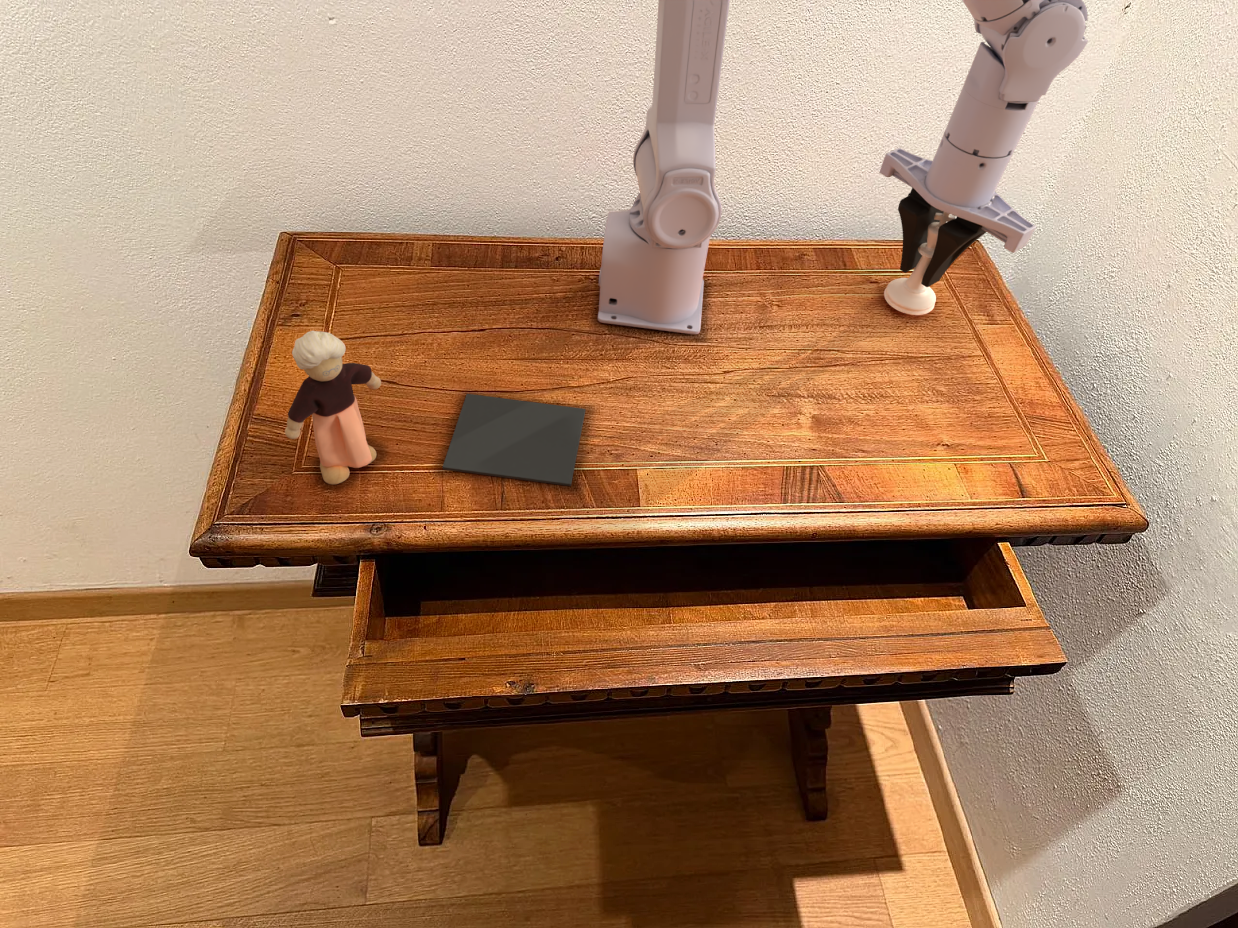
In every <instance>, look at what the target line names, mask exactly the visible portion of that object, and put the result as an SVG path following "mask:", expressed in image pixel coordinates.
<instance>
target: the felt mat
mask: <svg viewBox="0 0 1238 928" xmlns="http://www.w3.org/2000/svg"><path fill="white" fill-rule="evenodd" d="M585 414H586V408H582V407H576V406H575V407H574V406H566V405H560V404H551V403H543V402H535V401H528V400H522V399H521V400H520V399H513V398H505V397H497V396H488V395H482V394H474V393H466V395H465V398H464V400H463V404H462V407H461V410H460V412H459V416H458V419H457V422H456V425H455V428H454V431H453V433H452V437H451V439H450V443H449V446H448V449H447V452H446V455H445V457H444V461H443V465H442V470H444V471H451V472H452V471H453V472H460V473H465V474H467V473H469V474H473V475H474V474H475V475H481V476H489V477H490V476H491V477H497V478H504V479H512V480H513V479H514V480H521V481H529V482H536V483H543V484H551V485H557V486H565V487H566V486H567V487H571V486H572V482H573V477H574V472H575V468H576V467H575V466H576V461H577V457H578V452H579V446H580V441H581V435H582V430H583V425H584V420H585V416H586V415H585Z"/></svg>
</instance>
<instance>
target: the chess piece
mask: <svg viewBox="0 0 1238 928" xmlns="http://www.w3.org/2000/svg"><path fill="white" fill-rule="evenodd" d="M934 219H935V220H940V222H933V223H931V224H930V225H929V226H928V237H927V243H923V244H921V245H920V246H919V248H918V251H919V253H920V254H921V255H922V257H921V258H920V260H919V262H918V264H917V265H916V267H915V268H913V269H912V272H911V274H910V276H909V277H899V278H896V279H893V280H891V281H890V282H889V283H888V284H887V285H886V287H885V289H884V291H883V297H884V299H885V301H886V303H887V304H888V305H889V306H890V307H891V308H893V309H895V310H896V311H898V312H900V313H903V314H905V315H911V316H922V315H926V314H929V313H930V312H932V311H933V309H934V308H935V306H936V305H935V304H936V301H937V296H936V292H935V291H934V290H933V288H931V286H929V287H925V286H924V285H922V284H921V282H922V279H923V276H924V273H925V271H926V269H927V267H928V265H929V263H930V261H931V259H932V256H933V253H934V250H935V246H936V242H937V237H938V229H939V227H940V226H941V225H943V224H945V223H947V222H948V221H950V220H952V219H956V216H954V215H952V214H949V213H946V212H944V213H943V214H942V213H936V214H935V216H934Z"/></svg>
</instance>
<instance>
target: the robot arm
mask: <svg viewBox="0 0 1238 928" xmlns="http://www.w3.org/2000/svg"><path fill="white" fill-rule="evenodd" d="M961 1H962V2H963V4H964V6H965V7H966V8H967V11H968V12H969V13H970V15H971V17H972V18H973V23H974V24H973V25H974V30H975V32H976V33H977V34H980V35H981V37H982V38H983V40H984V41H985V42H986V43H987V44H986V43H985V42H984V41H981V42H980V43H979V46H978V48H977V51H976V53H975V56H974V58H973V60H972V63H971V65H970V68H969V71H968V73H967V74H966V78H965V80H964V83H963V85H962V88H961V90H960V92H959V95H958V97H957V100H956V103H955V104H954V108H953V110H952V113H951V115H950V118H949V120H948V122H947V125H946V127H945V130H944V131H943V134H942V136H941V139H940V142H939V144H938V147H937V149H936V152H935V154H934V156H933V159H932V160H931V159H927V158H924V157H922V156H919V155H917V154H914V153H911V152H909V151H908V150H905V149H903V148H902V147H898V148H895V149H893V150H891V151H888V152H887V153H885V155H884V158H883V161H882V164H881V166H880V169H879V174H881V175H882V176H884V177H886V178H891V177H894V178H896V180H899V181H901V182H902V183H904V184H905V185H907V186H909V187H911V189H910V192H909V193H908V194H907V196H905V197H904V198H901V200H900V201H899V203H898V207H897V211H898V214H899V216H900V223H901V229H902V248H901V259H900V267H899V270H900V271H901V272H903V273H904V274H906V273H908V272H910V271H913V270H914V269H915V267H916V265H917V264H918V262H919V260H920V258H921V257H922V255H921V254H920V253H919V251H918V248H919V246H920V245H921V244H923V243H927V237H928V226H929V225H930V224H931V223H933V222H940V220H935V219H934V216H935V214H936V213H942V214H943V213H944V212H946V213H949V215H954V216H955V219H952V220H950V221H948V222H947V221H946V223H945V224H943V225H941V226H940V227H939V229H938V237H937V242H936V246H935V250H934V253H933V256H932V259H931V261H930V263H929V265H928V267H927V269H926V271H925V273H924V276H923V279H922V282H921V284H922V285H924V286H925V287H931V286H933V285H934V284H936V283H938V282H939V281H941V279H942V278H943V276H944V275H945V273H946V272H947V271H948V270H949V268H950V267H951V266H952V265H953V264H954V262H955V261H956V260H957V259H958V258H959V257H960V256H961V255H962V254H963V253H964V252H965V251H966V250H967V249H968V248H969V247H970V246H972V245H973V244H974V243H975V242H976V241H978V240H979V239H980V238H981V237H983V236H984V235H985V234H986V233H988V234H989V235H990V236H993V238H996V239H998V240H999V241H1001V242H1002V243H1004V244H1003V248H1004V249H1006V250H1007V251H1009V252H1011V253H1012V254H1014V253H1016V252H1019V251H1020V250H1021V249H1023V248H1025V247H1026V246H1027V245H1028V243H1029V241H1030V240H1031V238H1032V236H1033V234H1034V233H1035V231H1036V229H1037V225H1035V224H1034V223H1032V222H1031V221H1029V220H1028V219H1026V217H1024V216H1022V215H1021V214H1020V213H1019V212H1018V211H1017V210H1016V209H1015V208H1014V207H1013V206H1011V205H1010V204H1009V203H1008V202H1007V201H1006V200H1005V199H1004V198H1003V197H1001V195H999V193H997V192H996V190H997V188H998V186H999V184H1000V183H1001V182H1000V181H1001V180H1002V177H1003V175H1004V173H1005V172H1006V169H1007V167H1008V165H1009V163H1010V161H1011V159H1012V157H1013V155H1014V152H1015V151H1016V149H1017V147H1018V146H1019V145H1018V144H1019V143H1020V141H1021V139H1022V137H1023V134H1024V132H1025V131H1026V128H1027V126H1028V124H1029V122H1030V121H1031V118H1032V116H1033V114H1034V112H1035V109H1036V107H1037V105H1038V104H1039V101H1040V99H1041V97H1042V96H1046V95H1047V92H1048V91H1049V89H1050V87H1051V85H1052V83H1053V81H1054V80H1055V78H1056V77H1057V76H1058V75H1059V74H1060V73H1061V72H1063V71H1064V70H1065V69H1067V68H1068V67H1069V66H1070V65H1072V63H1074V62H1075V60H1077V58H1078V57H1079V56H1080V55H1081V53H1082V52H1083V51H1084V49H1085V48H1086V47H1087V44H1088V43H1089V40H1088V39H1087V38H1086V36H1085V33H1086V30H1087V25H1086V22H1087V21H1088V19H1089V14H1088V8H1087V6H1086V3H1085V2H1084V0H961ZM730 2H731V0H658V4H657V18H656V19H657V22H656V36H655V37H656V39H655V52H654V54H655V55H654V68H653V69H654V70H653V71H654V73H653V86H652V102H651V106H650V107H649V108H648V109H647V110H646V120H645V126H644V130H643V133H642V135H641V137H640V138H639V140H638V142H637V143H636V146H635V148H634V150H633V155H632V163H633V164H632V165H633V170H634V173H635V176H636V179H637V184H638V189H639V193H638V194H637V195H636V198H635V200H634V201H633V203H632V206H631V207H630V208H629V209H625V210H624V209H623V210H610V211H608V213H607V216H606V217H607V218H606V222H605V229H604V233H603V234H604V235H603V242H602V253H601V266H600V269H599V275H598V287H599V298H598V300H599V302H598V313H597V321H598V322H599V323H602V324H608V325H609V324H611V325H617V326H625V327H633V328H642V329H648V330H658V331H666V332H671V333H681V334H688V335H699V334H700V332H701V326H702V312H703V298H704V288H705V287H704V286H705V280H704V273H705V269H706V263H707V258H708V251H709V245H710V241H711V236H712V235H713V234H714V233H715V231H716V230H717V228H718V227H719V225H720V222H721V219H722V213H723V206H722V202H721V198H720V196H719V193H718V190H717V189H716V184H715V183H716V182H715V177H716V169H717V159H716V141H715V140H716V138H715V121H716V112H717V104H718V96H719V91H720V82H721V74H722V66H723V57H724V52H725V51H724V49H725V42H726V34H727V27H728V26H727V25H728V17H729V11H730V10H729V9H730Z"/></svg>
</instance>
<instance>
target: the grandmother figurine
mask: <svg viewBox="0 0 1238 928" xmlns="http://www.w3.org/2000/svg"><path fill="white" fill-rule="evenodd" d="M346 350H347V349H346V345H345V343H344V342H343V341H342V340H341V339H340V338H338V337H337V336H335V335H334V334H332V333H331V332H326V331H320V330H319V331H318V330H310V331H307V332H306V333H304V334H303V335H302V336H301V337H299V338H297V339H295V341H294V345H293V349H292V351H291V355H292V359H294V362H295V363H296V365H297V368H298V369H300V370H303V371H304V372H305V374H306V375H307V377H306V378H305V379H304V380H303V381H302V383H301V385H300V387H299V388H298V390H297V393H296V395H295V396H294V399H293V401H292V403H291V405H290V407H289V409H288V412H287V421H286V427H285V429H284V435H285V436H286V437H287V439H290V440H296V439H298V438H299V437H300V435H301V428H303V425H304V422H305V420H306V419H308V418H309V417H310V416H311V417H312V427H313V434H314V443H315V446H316V447H315V448H316V450H317V453H318V457H319V462H320V463H319V469H320V472H321V476H322V479H323V481H324V483H326V484H329V485H338V484H341V483H343V482H345V481H346V480H347V479H349V477H350V473H351V472H350V469H349V468H354V469H359V468H362V467H366V466H368V465H369V464H371V463H372V462H374V461H375V459H376V458H377V451H376V449H375V448H374V447H373V446H371V445H369V444H368V441H367V436H366V429H365V426H364V422H363V418H362V415H361V412H360V408H359V403H358V399H357V397H356V395H355V394H354V389H353V385H366V386H367V387H368V388H369V389H370V390H378V389H379V388H380V387H381V385H382V380H381V378H380V377H378V376H377V375H375V373H374V372H373V371H372V368H371V366H370V365H368V364H362V363H358V362H357V363H356V362H347V363H346V362H345V363H343V361H344V360H343V356H344V355H345V353H346Z"/></svg>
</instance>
